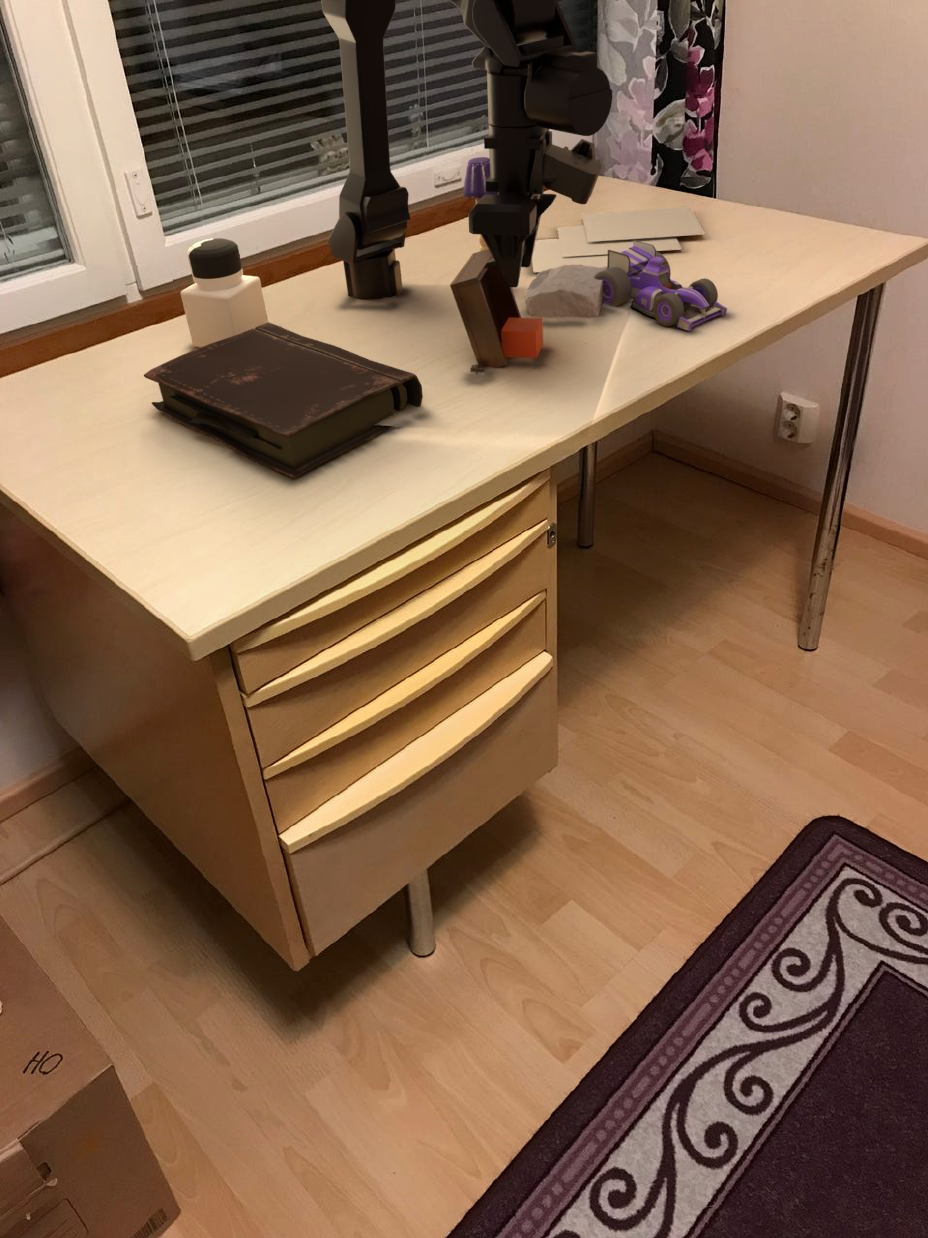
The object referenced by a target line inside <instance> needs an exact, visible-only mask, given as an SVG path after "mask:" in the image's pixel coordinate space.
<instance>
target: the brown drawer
mask: <svg viewBox="0 0 928 1238" xmlns="http://www.w3.org/2000/svg"><path fill="white" fill-rule="evenodd" d="M526 250H527V245H526V244H524V251H523V256H524V254H525V252H526ZM449 286H450V289H451V292H452V296H453V298H454V300H455V303H456V306H457V309H458V313H459V315H460V317H461V320H462V323H463V326H464V329H465V332H466V335H467V338H468V340H469V343H470V346H471V349H472V352H473V354H474V357H475V360H476V363H477V365H486V369H488V368H489V369H490V368H491V369H497V368H502V367H505V366H507V365H508V359H507V357H505V354H504V351H503V348H502V341H501V330H502V328H503V327H504V325H505V323H506V321H507V320H508V318H509V317H510V318H522V315H521V312H520V309H519V306H518V303H517V300H516V297H515V293H514V290H513V287H508V286H507V284H506V282H505V280H504V278H503V276H502V274H501V272H500V270H499V268H498V266H497V264H496V262H495V260H494V258H493V256H492V254H491V252H490V250H489V249H487V250H483V251H480V250H479V251H477V252H473V253H472V254H471V255H470V257H469V258H468V260H467V261H466V262H465V264H464V265H463V267H461V269H460V271H459V272H458V273H457V275H456V276H455V277H454V279H453V280H452V281H451V283H450V284H449Z"/></svg>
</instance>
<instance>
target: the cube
mask: <svg viewBox="0 0 928 1238" xmlns="http://www.w3.org/2000/svg"><path fill="white" fill-rule="evenodd" d="M543 320H544V319H543V317H542V318H540V317H521V318H510V317H509V318H508V320H507V321H506V323H505V325H504V327H503V328H502V330H501V341H502V348H503V351H504V354H505V357H506V358H527V359H528V358H530V359H531V358H532V359H537V358H538V356H539V354H540V352H541V349H542V348H543V345H544V321H543Z"/></svg>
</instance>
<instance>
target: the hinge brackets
mask: <svg viewBox="0 0 928 1238" xmlns="http://www.w3.org/2000/svg"><path fill="white" fill-rule="evenodd" d="M469 370H470V372H471V373H475V375H478V373H485V372H486V370H487V367H486V365H478V364H472V365H471V366H470V369H469Z"/></svg>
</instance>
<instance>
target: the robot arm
mask: <svg viewBox="0 0 928 1238" xmlns="http://www.w3.org/2000/svg"><path fill="white" fill-rule="evenodd" d="M448 1H449V2H450V3H451V4H453V5H454V6H456V8H457V9H458V10H459V11H460V12H461V17H462V21H463V24H464V26H465V27H466V28H467V29H468V30H469V32H471V33H472V35H474V37H476V39H478V40H479V41H480V42H481V43H482V44H483V48H482V49H481V51H480V52H479V53H478V54H476V56H475V57H474V59H472V61H471V66H472V67H473V68H474V69H477V70H482V71H483V70H484V71H486V79H487V80H486V81H487V82H486V84H487V86H486V87H487V112H488V113H487V116H488V117H487V118H488V121H487V122H488V133H487V134H486V136H484V138H483V149H484V150H488V153H489V154H488V155H489V158H490V177H489V178H488V179H487V180H486V181H485V183H486V192H498V194H497V195H495V194H485V195H484V196H483V197H482V198H481V199H480V200H479V201H478V202H477V204H476V203H475V205H474V206H472V208H471V209H470V210H469V212H468V213H467V215H468V233H469V234H472V235H479V234H481V236H482V237H483V239H484V241H485V243H486V245H487V246H488V248H489V250H490V252H491V254H492V256H493V258H494V260H495V262H496V264H497V266H498V268H499V270H500V272H501V274H502V276H503V278H504V280H505V282H506V284H507V286H508V287H512V288H518V287H519V283H520V277H521V271H522V268H529V267H530V266H531V265H532V255H533V250H534V246H535V241H536V240H537V236H538V232H539V227H540V222H541V218H542V215H543V214H544V213H545V212H546V211H547V210H548V208H549V207H551V205H553V203H554V201H555V200H556V198H557V196H558V195H557V194H559V195H561V196H564V197H566V198H569V199H571V201H572V202H573V203H576V204H579V205H586V204H587V203H588V202H589V200H590V198H591V196H592V195H593V192H594V189H595V186H596V184H597V180H598V178H599V176H600V173H601V171H602V168H603V164H602V163H601V159H596V148H595V144H594V143H593V142H591V141H589V140H586V139H583V138H581V139H580V140H579V141H578V142H577V143H576V144H575V145H574V146H573V147H572V148H571V149H569V147H568V146H566V145H565V146H564V147H560V146H558V145H556V144H553V131H556V132H562V133H566V134H571V135H577V136H582V137H591V136H594V135H595V134H597V133H598V132H599V131H600V130H601V129H602V128H603V127H604V125H605V124H606V122H607V120H608V119H609V118H608V117H609V115H610V112H611V109H612V103H613V89H612V88H611V85H610V80H609V78H608V76H607V74H606V73H605V72H604V70H602V69H601V68H599V67H598V54H597V52H594V51H583V52H578V45H577V43H576V41H575V38H574V36H573V31H572V30H571V28H570V27H569V24H568V22H567V20H566V18H565V16H564V13H563V11H562V9H561V8H562V7H560V4H559V1H558V0H448ZM320 2H321V10H322V14H323V15H324V16H325V19H326V20H327V22H328V23H329V25H330V26H331V28H332V29H333V31H334V33H335V34H336V36H337V38H338V42H339V53H340V65H341V76H342V78H341V79H342V91H343V103H344V114H345V129H346V140H347V153H348V164H349V172H348V175H347V177H346V179H345V182H344V184H343V186H342V187H341V188H342V189H341V190H340V193H339V196H338V219H337V221H336V224H335V225H334V227H333V229H332V230H331V233H330V235H329V237H328V239H327V244H328V247H329V250H330V252H331V256H332V257H333V258H334V259H337V260H340V261H342V262H343V270H344V277H345V283H346V284H345V285H346V290H347V296H348V297H354V298H355V299H358V300H362V301H363V300H364V301H373V300H381V299H384V298H393V297H398V296H399V295H400V294H401V292H402V291H403V288H404V287H403V279H402V270H401V262H400V261H399V260H398V259H397V258H396V257H397V256H396V250H397V249H402V248H404V247H405V242H406V236H407V230H408V225H409V221H411V215H410V211H409V195H410V194H409V191H408V189H407V187H405V186H401V185H400V183H399V182H398V181H397V179H396V177H395V176H394V174H393V173H392V171H391V156H390V139H389V138H390V137H389V124H388V123H389V119H388V101H387V100H388V99H387V83H386V81H387V80H386V65H385V63H386V62H385V45H384V38H385V35H386V33H387V31H388V30H389V27H390V24H391V21H392V19H393V16H394V14H395V12H396V8H397V0H320ZM544 38H545V39H544ZM545 188H546V189H547V190H550V191H551V192H554V193H545ZM556 193H557V194H556ZM524 244H526V245H527V250H526V252H525V254H524V256H523V251H524Z"/></svg>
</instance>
